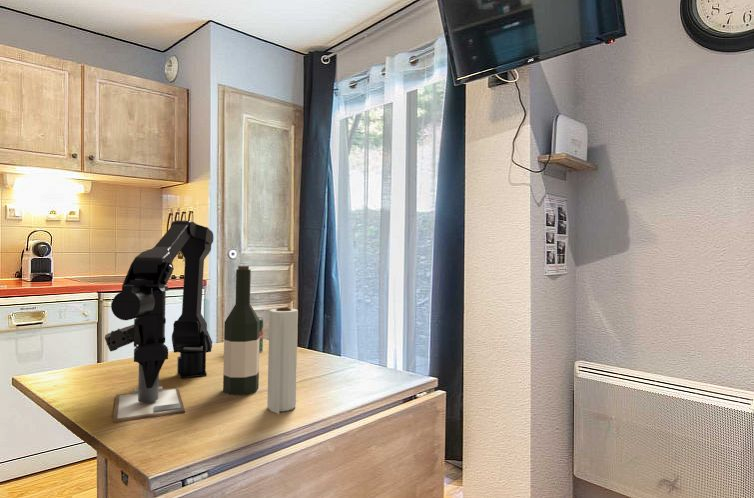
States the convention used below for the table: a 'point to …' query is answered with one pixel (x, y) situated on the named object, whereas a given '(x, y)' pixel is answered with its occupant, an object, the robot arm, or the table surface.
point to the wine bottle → (241, 341)
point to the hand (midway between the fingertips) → (149, 385)
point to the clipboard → (147, 405)
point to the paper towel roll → (282, 359)
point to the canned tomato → (261, 335)
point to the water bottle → (144, 392)
